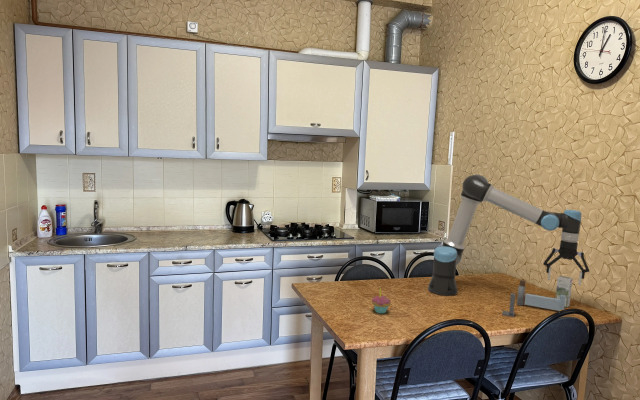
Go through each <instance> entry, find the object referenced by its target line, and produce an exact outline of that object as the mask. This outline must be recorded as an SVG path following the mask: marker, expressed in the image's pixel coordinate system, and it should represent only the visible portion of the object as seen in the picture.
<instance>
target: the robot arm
mask: <svg viewBox="0 0 640 400" xmlns="http://www.w3.org/2000/svg"><path fill="white" fill-rule="evenodd" d="M461 186H462V190H461V193H460V198H461V202H460V204H459V207H458V210H457V213H456V214H455V219H454V220H453V224H452V226H451V229H450V232H449V234H448V236H447V239H444V240H443V243H442V245H441V246H439V247H438V246H437V247H436V248H435V249H434V251H433V263H432V265H433V266H432V275H431V278H430V281H429V283H428V286H427V287H428V288H427V290H428V291H429V292H430V293H432V294H434V295H435V294H436V295H440V296H446V297H447V296H448V297H449V296H456V295H457V294H458V286H457V281H456V269H457V265H458V264H459V263H460V262H461V261H462V256H463V253H464V250H465V245H464V242H465V239H466V237H467V234H468V232H469V230H470V229H469V228H470V226H471V223H472V221H473V220H474V219H473V218H474V215H475V214H476V213H475V212H476V210H477V207H478V205H479V204H482V203H484V202H488V203H490V204H492V205H494V206H497V207H498V208H501V209H502V210H504V211H505V210H506V211H507V212H509V213H511V214H513V215H516V216H518V217H520V218H523V219H524V220H526V221H528V222H531V223H533V224H535V225H536V226H540V227H542V228H543V230H546V231H550V232H551V231H555V230H557V229H559V228H560V229H561V234H560V235H561V236H560V239H561V240H560V242H559V249H558V248H555V247H552V249H551V252H550V253H549V255H548V256H547V257H546V259H545V260H544V261H543V262H542V264H543V266H545V267H546V274H547V281H550V280H551V279H550V278H551V272H552V265H554V264H555V263H556V262H558V261H559V260H561V259H562V260H570V261H571V260H572V261H573V262H574V263H575V264H576V265H577V267H578V268H579V269H580V271H579V278H578V286H581V285H582V280H584V279H585V273H590V269H589V266H588V263H587V262H586V259H585V253H584V251H580V252H579V251H577V250H578V245H579V244H578V242H579V239H580V238H579V236H580V229H581V224H582V212H581V211H579V210H576V209H565V210H564V211H563V212H553V211H547V210H543V209H541V208H540V207H536V206H535V205H532V204H530V203H528V202H526V201H523V200H521V199H520V198H518V197H514V196H513V195H511V194H509V193H506V192H504V191H502V190H500V189H497V188H495V187H494V186H493V184H491V183H489V181H488V180H487V178H486V177H485V176H483V175H480V174H471V175H469V176H467V177H465V178H464V180H463V181H462V185H461ZM556 253H558V254H559V255H557V256H556V257H555V258H553V260H551V259H552V257H553V256H554V255H555V254H556ZM577 256H579V257H580V258H581V260H582V263H583V266H584V267H583V266H582V265H581V264H580V262H579V261H578V260H577V258H576V257H577ZM550 260H551V261H550ZM584 268H585V269H584Z"/></svg>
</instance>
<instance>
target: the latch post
mask: <svg viewBox="0 0 640 400" xmlns="http://www.w3.org/2000/svg"><path fill="white" fill-rule="evenodd" d="M515 301H516V293H513V292H511V293H510V301H509V311H507V310H502V313H501V315H502V316H506V317H511V318H514V317H515V312H514V311H515V303H516V302H515Z"/></svg>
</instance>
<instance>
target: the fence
mask: <svg viewBox="0 0 640 400" xmlns="http://www.w3.org/2000/svg"><path fill="white" fill-rule="evenodd" d="M519 286H524V287H525V288H526V280H523V279H520V280H519Z"/></svg>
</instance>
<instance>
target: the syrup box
mask: <svg viewBox="0 0 640 400" xmlns="http://www.w3.org/2000/svg"><path fill="white" fill-rule="evenodd" d="M572 287H573V277H569V276H565V275H559V276H557V281H556V291H555V297H554V298H555V299H560V295H565V305H564V308H568V307H570V304H571V295H572Z"/></svg>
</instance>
